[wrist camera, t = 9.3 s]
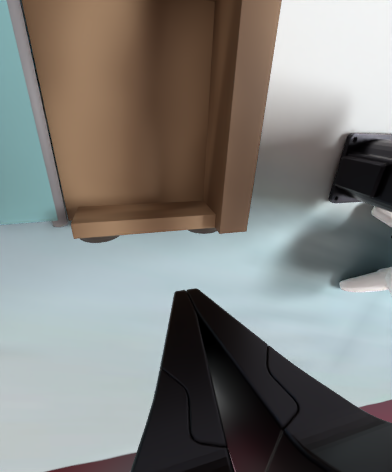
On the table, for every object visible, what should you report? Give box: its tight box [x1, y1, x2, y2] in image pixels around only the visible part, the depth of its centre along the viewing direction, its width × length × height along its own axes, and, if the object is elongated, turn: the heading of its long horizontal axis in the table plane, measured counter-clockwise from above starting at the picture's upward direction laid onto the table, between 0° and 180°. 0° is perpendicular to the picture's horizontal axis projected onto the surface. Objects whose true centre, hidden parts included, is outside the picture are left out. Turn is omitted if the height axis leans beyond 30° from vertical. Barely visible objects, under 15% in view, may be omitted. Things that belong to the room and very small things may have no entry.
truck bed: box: [22, 0, 282, 243], centre depth 14 cm, size 12×16×6 cm
